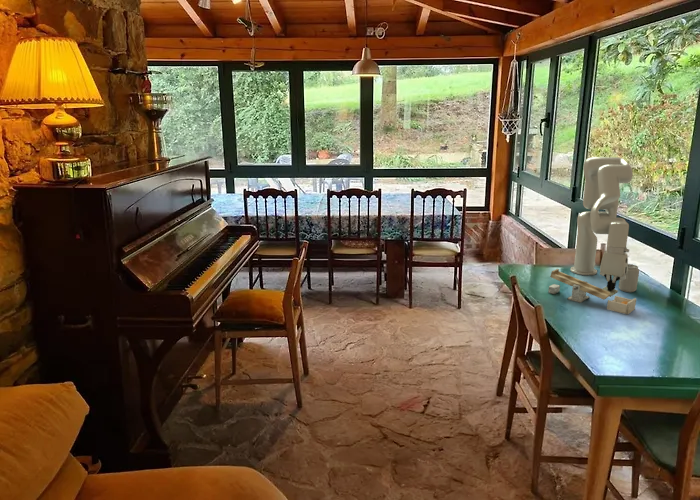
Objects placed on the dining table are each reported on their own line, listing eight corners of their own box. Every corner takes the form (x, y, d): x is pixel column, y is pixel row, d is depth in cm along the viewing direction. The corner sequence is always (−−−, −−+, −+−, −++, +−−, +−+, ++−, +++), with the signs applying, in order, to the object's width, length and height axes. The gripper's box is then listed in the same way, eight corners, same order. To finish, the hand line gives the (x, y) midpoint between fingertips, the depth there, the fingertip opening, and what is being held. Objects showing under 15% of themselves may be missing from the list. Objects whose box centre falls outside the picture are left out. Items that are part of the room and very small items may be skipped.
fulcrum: (545, 294, 240) (546, 279, 239) (556, 288, 248) (557, 274, 246) (580, 303, 229) (581, 287, 227) (590, 297, 236) (592, 282, 234)
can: (632, 287, 248) (635, 263, 245) (639, 293, 241) (642, 268, 238) (615, 287, 249) (619, 263, 246) (621, 292, 242) (625, 267, 239)
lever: (550, 276, 240) (551, 271, 239) (563, 270, 249) (565, 265, 248) (605, 300, 224) (607, 294, 223) (617, 292, 233) (619, 286, 232)
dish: (614, 304, 228) (615, 293, 227) (634, 309, 222) (636, 298, 221) (606, 309, 223) (608, 298, 221) (627, 314, 217) (629, 303, 215)
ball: (630, 309, 221) (621, 307, 224) (632, 301, 220) (623, 299, 223) (627, 311, 219) (618, 309, 221) (628, 303, 218) (619, 301, 220)
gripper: (637, 251, 224) (631, 292, 229) (601, 245, 235) (596, 284, 239) (631, 254, 219) (625, 296, 224) (594, 248, 230) (590, 287, 234)
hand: (610, 289), depth 232 cm, fingers closed
